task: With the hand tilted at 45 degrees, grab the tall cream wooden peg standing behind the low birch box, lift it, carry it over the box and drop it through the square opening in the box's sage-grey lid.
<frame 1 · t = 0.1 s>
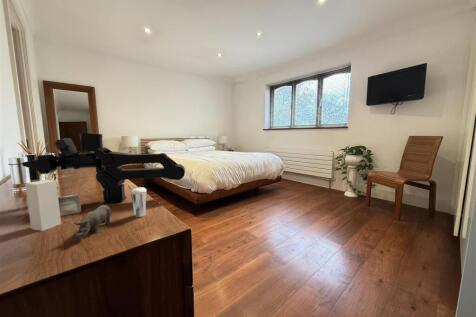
hand: (33, 162, 70), 17 cm above the table, tool horizontal, fingers open, 9 cm apart
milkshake: (139, 215, 63), on the table
rhino figurine: (94, 232, 53), on the table
coin box: (61, 211, 67), on the table
peg: (46, 226, 56), on the table
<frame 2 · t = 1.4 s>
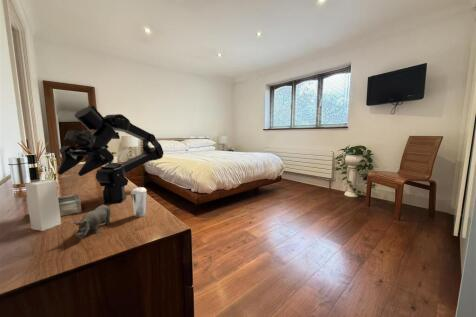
hand: (68, 174, 62), 14 cm above the table, tool tilted 45°, fingers open, 9 cm apart
nothing on the table moved.
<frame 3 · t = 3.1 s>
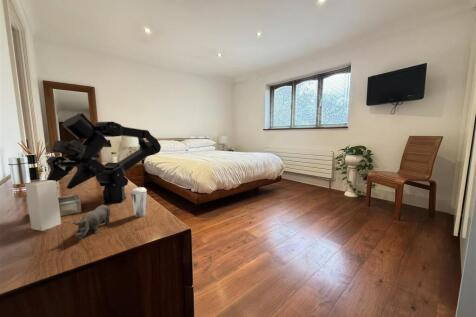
hand: (56, 187, 58), 10 cm above the table, tool tilted 45°, fingers open, 9 cm apart
nothing on the table moved.
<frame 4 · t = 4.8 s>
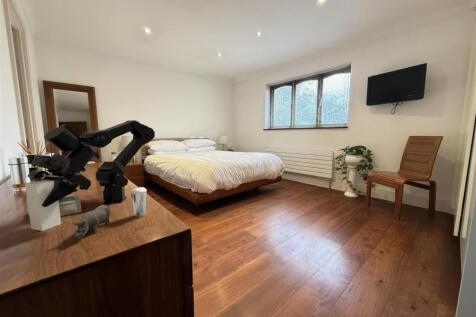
hand: (37, 205, 54), 7 cm above the table, tool tilted 45°, fingers closed on peg, 4 cm apart
peg: (46, 226, 56), on the table, touching gripper
everything else where it was.
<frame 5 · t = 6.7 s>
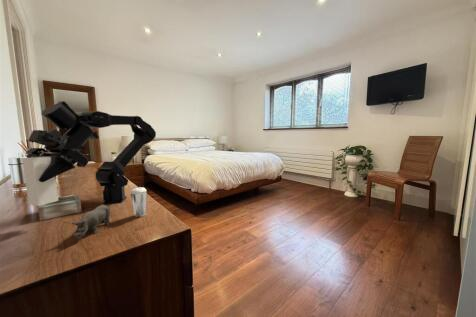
hand: (34, 180, 54), 14 cm above the table, tool tilted 45°, fingers closed on peg, 4 cm apart
peg: (44, 202, 56), point 7 cm above the table, touching gripper
everything else where it was.
when the fingers open (11 cm above the table, at t = 8.8 s): peg drops 5 cm, resting in coin box.
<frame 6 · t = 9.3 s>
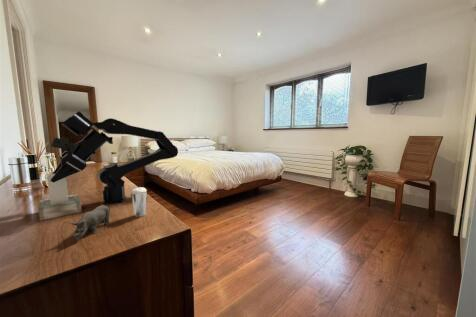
hand: (51, 179, 65), 12 cm above the table, tool tilted 45°, fingers open, 9 cm apart
peg: (61, 211, 67), resting in coin box
everything else where it was.
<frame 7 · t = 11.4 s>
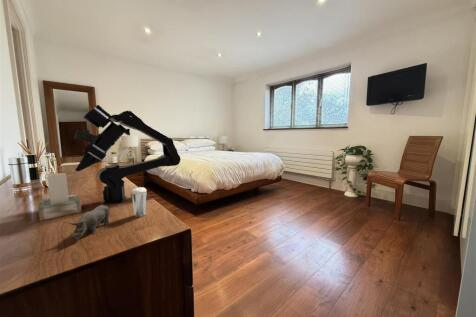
hand: (77, 169, 70), 14 cm above the table, tool tilted 40°, fingers open, 9 cm apart
nothing on the table moved.
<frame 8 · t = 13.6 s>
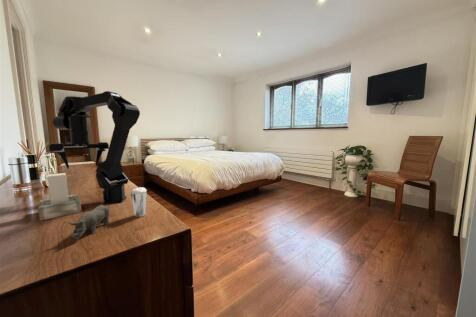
hand: (82, 167, 81), 13 cm above the table, tool pointing down, fingers open, 9 cm apart
nothing on the table moved.
at the end: peg 0.1 cm off-centre on the coin box, point 0.0 cm above the coin box's base; the gripper is holding nothing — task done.
